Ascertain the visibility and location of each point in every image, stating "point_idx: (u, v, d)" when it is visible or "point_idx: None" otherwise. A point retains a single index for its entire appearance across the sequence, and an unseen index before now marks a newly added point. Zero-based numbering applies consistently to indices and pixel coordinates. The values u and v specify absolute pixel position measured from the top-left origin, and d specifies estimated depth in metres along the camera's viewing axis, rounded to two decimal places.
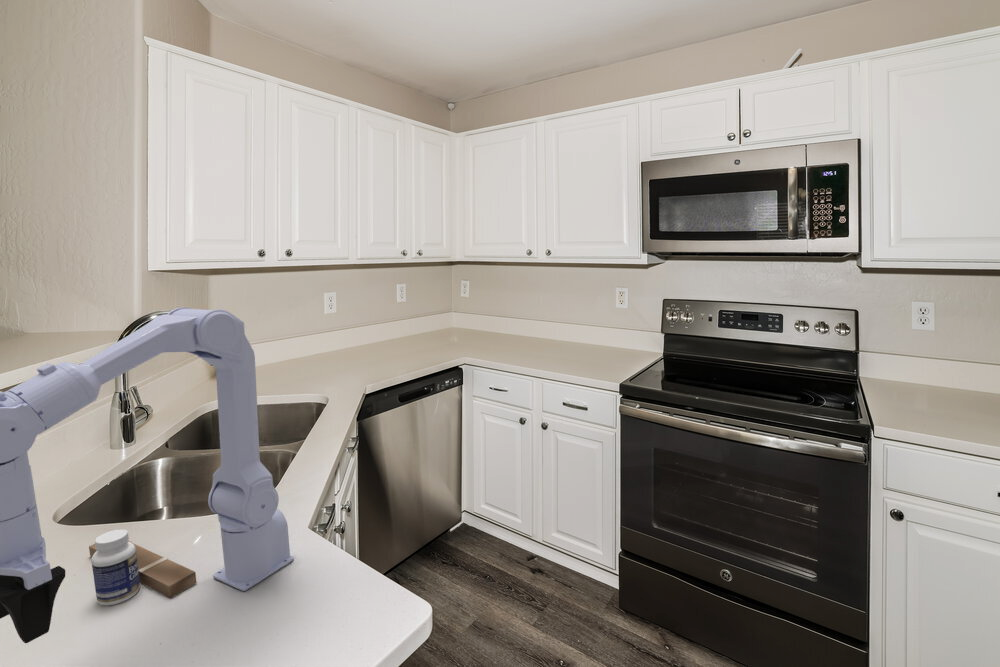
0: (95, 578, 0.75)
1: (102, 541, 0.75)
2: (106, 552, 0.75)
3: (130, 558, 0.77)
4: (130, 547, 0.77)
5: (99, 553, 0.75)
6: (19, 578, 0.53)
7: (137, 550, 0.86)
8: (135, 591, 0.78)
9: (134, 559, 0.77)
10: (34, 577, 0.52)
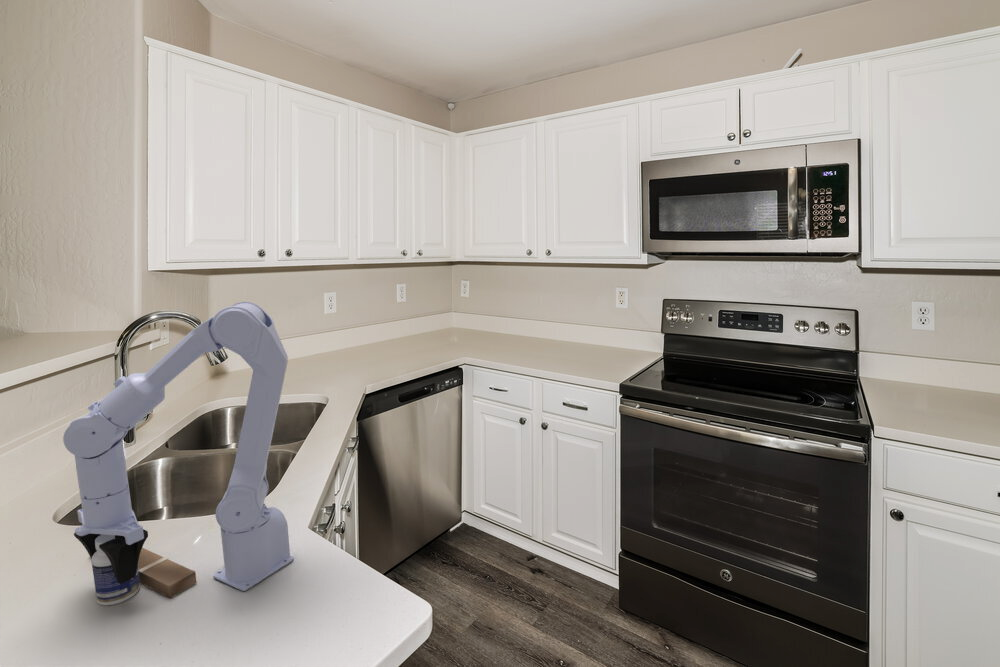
0: (95, 578, 0.75)
1: (102, 540, 0.75)
2: None
3: None
4: None
5: (99, 553, 0.75)
6: (120, 537, 0.73)
7: None
8: (135, 591, 0.78)
9: None
10: (133, 536, 0.72)
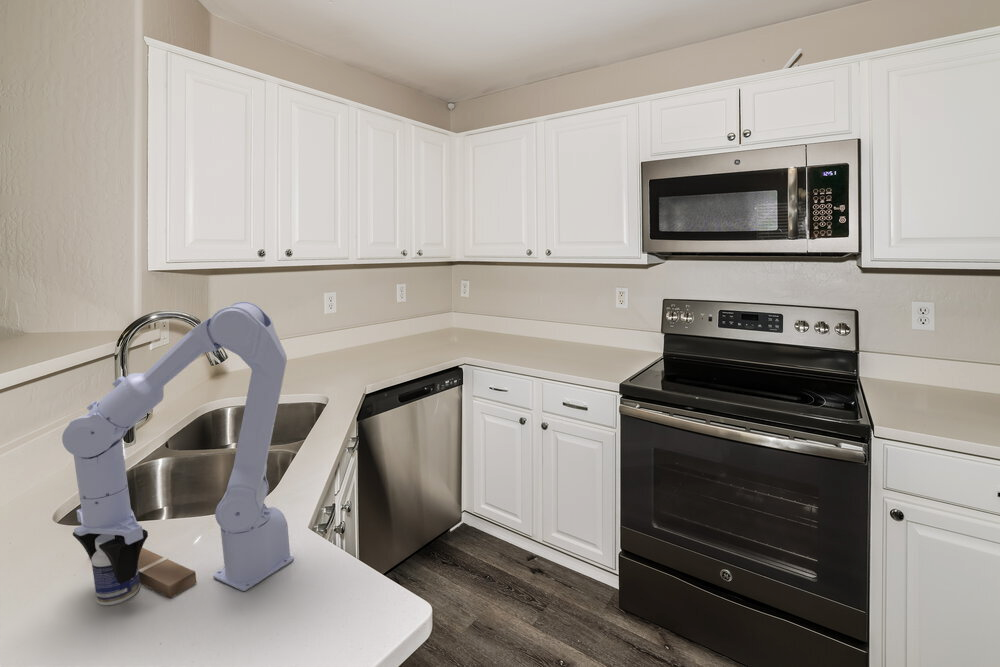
0: (95, 578, 0.75)
1: (102, 540, 0.75)
2: None
3: None
4: None
5: (99, 553, 0.75)
6: (120, 537, 0.73)
7: None
8: (135, 591, 0.78)
9: None
10: (132, 535, 0.72)
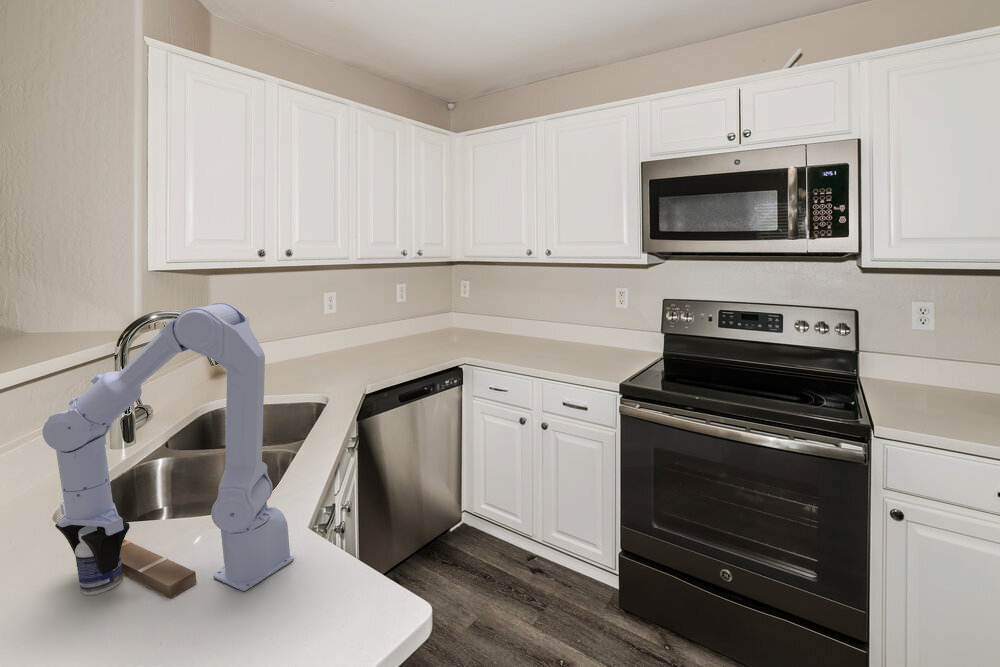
0: (78, 568, 0.77)
1: (85, 532, 0.77)
2: None
3: None
4: None
5: (82, 544, 0.77)
6: (101, 528, 0.76)
7: (137, 550, 0.86)
8: (117, 581, 0.80)
9: None
10: (112, 527, 0.75)
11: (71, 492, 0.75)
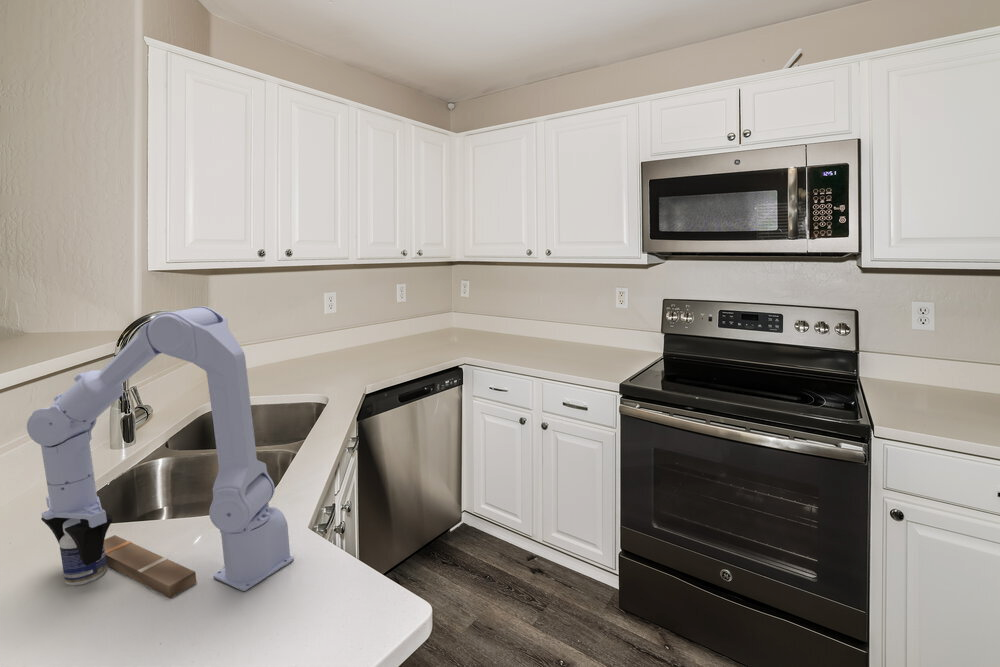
0: (62, 559, 0.80)
1: (69, 524, 0.80)
2: None
3: None
4: None
5: (66, 536, 0.80)
6: (84, 521, 0.78)
7: (137, 550, 0.86)
8: (101, 573, 0.82)
9: None
10: (95, 519, 0.77)
11: (55, 486, 0.77)
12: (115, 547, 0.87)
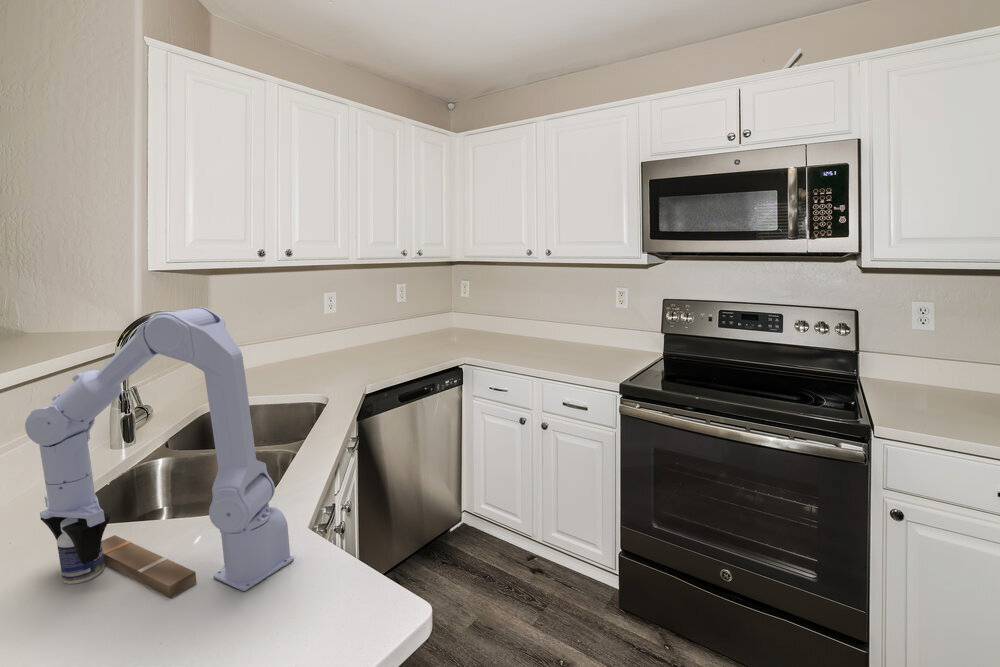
0: (60, 558, 0.80)
1: (67, 523, 0.80)
2: None
3: None
4: None
5: (64, 535, 0.80)
6: (83, 520, 0.78)
7: (137, 550, 0.86)
8: (98, 571, 0.83)
9: None
10: (94, 519, 0.77)
11: (54, 485, 0.78)
12: (115, 547, 0.87)
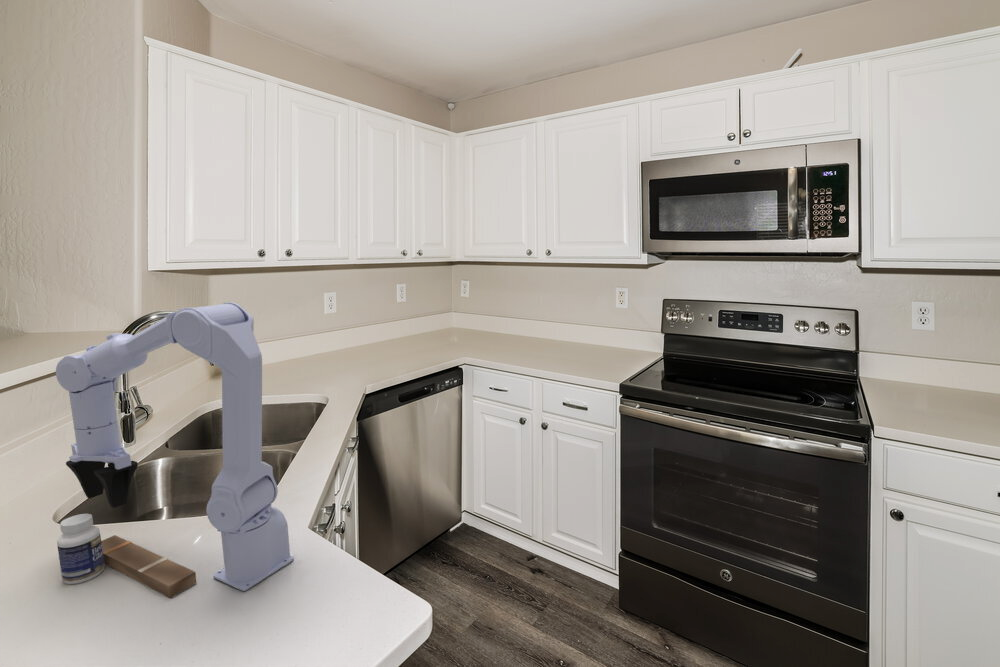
0: (60, 558, 0.80)
1: (67, 523, 0.80)
2: (70, 534, 0.80)
3: (94, 540, 0.82)
4: (94, 530, 0.82)
5: (64, 535, 0.80)
6: (110, 464, 0.82)
7: (137, 550, 0.86)
8: (98, 571, 0.83)
9: (98, 541, 0.82)
10: (121, 462, 0.81)
11: (83, 430, 0.82)
12: (115, 547, 0.87)
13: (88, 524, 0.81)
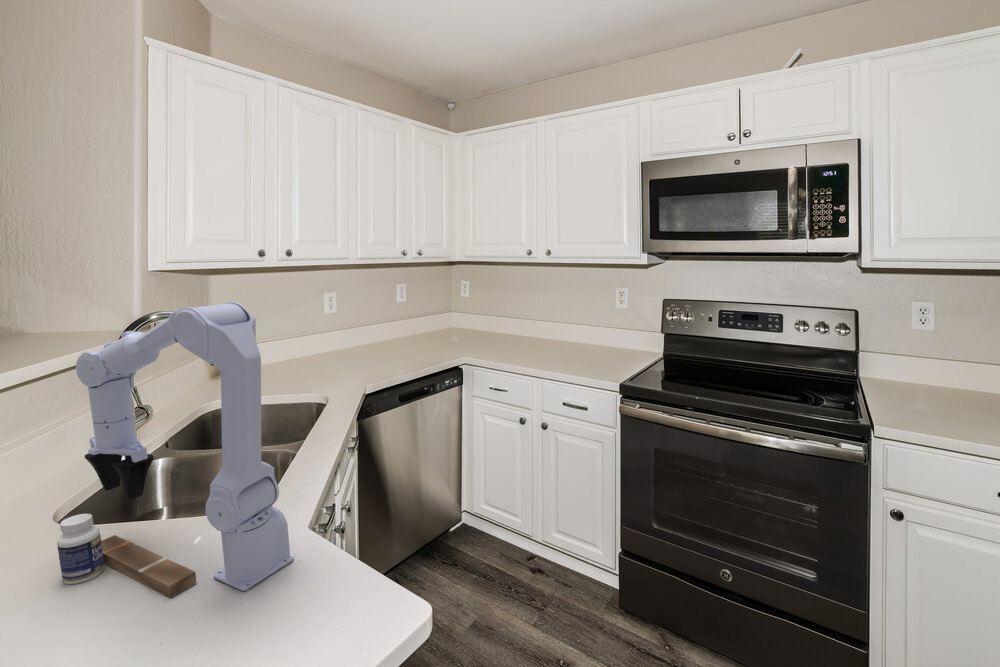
0: (60, 558, 0.80)
1: (67, 523, 0.80)
2: (70, 534, 0.80)
3: (94, 540, 0.82)
4: (94, 530, 0.82)
5: (64, 535, 0.80)
6: (127, 457, 0.85)
7: (137, 550, 0.86)
8: (98, 571, 0.83)
9: (98, 541, 0.82)
10: (138, 455, 0.84)
11: (101, 424, 0.84)
12: (115, 547, 0.87)
13: (88, 524, 0.81)
